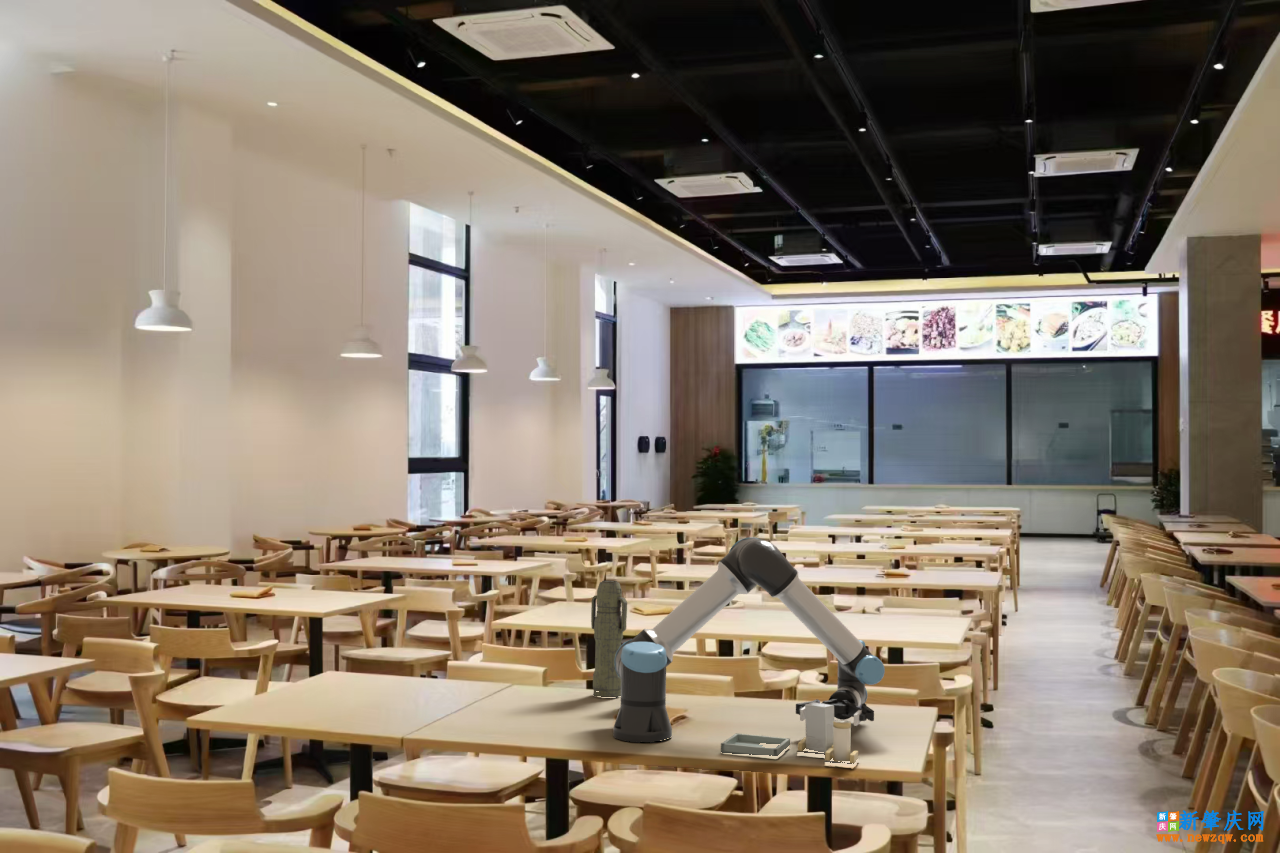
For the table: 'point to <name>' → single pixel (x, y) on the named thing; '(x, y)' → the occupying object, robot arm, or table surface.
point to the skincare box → (819, 726)
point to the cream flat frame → (827, 753)
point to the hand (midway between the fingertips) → (828, 717)
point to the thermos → (607, 636)
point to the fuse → (841, 740)
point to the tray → (753, 745)
